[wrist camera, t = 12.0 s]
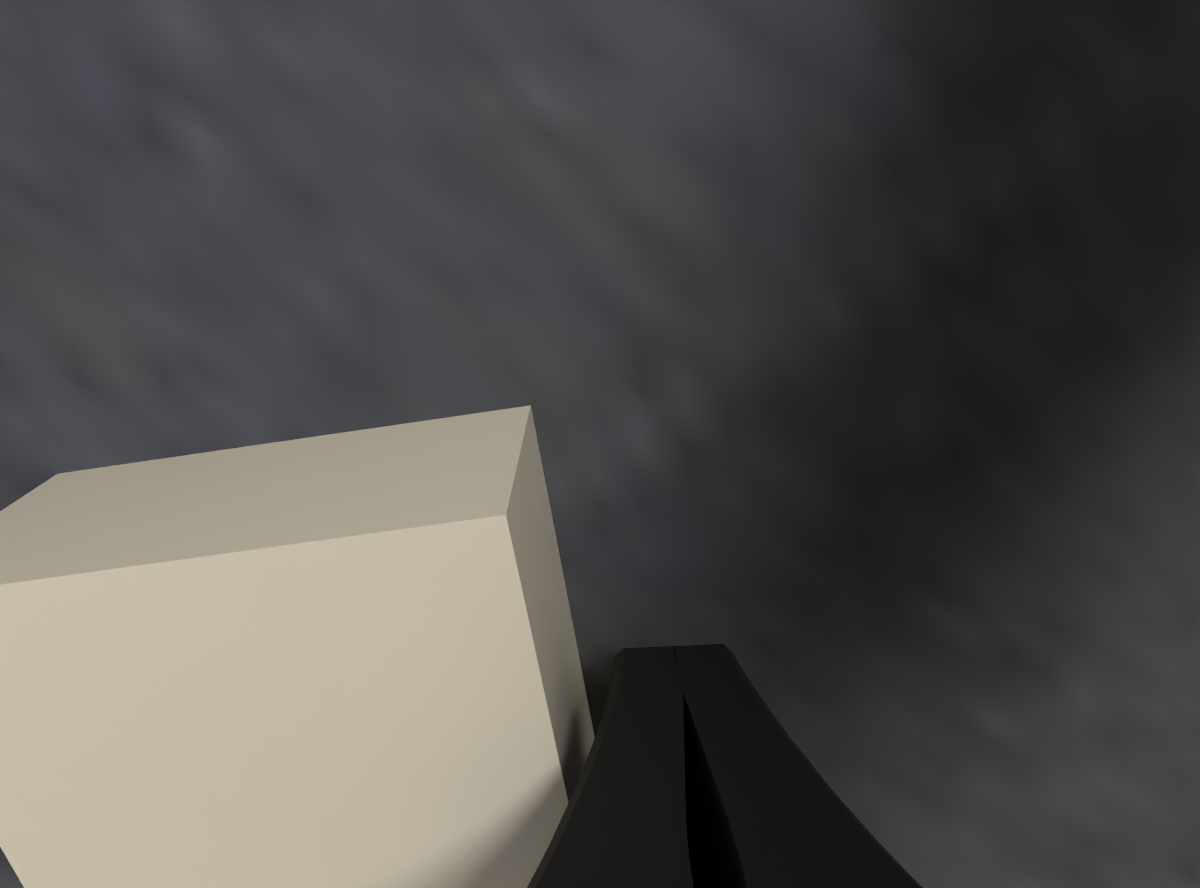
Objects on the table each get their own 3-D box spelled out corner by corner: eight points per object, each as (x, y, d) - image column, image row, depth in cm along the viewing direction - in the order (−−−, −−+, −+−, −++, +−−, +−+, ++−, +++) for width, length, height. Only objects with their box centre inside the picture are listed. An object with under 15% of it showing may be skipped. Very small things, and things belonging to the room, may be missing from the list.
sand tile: (603, 777, 12) (605, 975, 9) (216, 824, 12) (106, 1030, 10) (530, 403, 10) (506, 514, 7) (62, 470, 10) (-141, 603, 7)
